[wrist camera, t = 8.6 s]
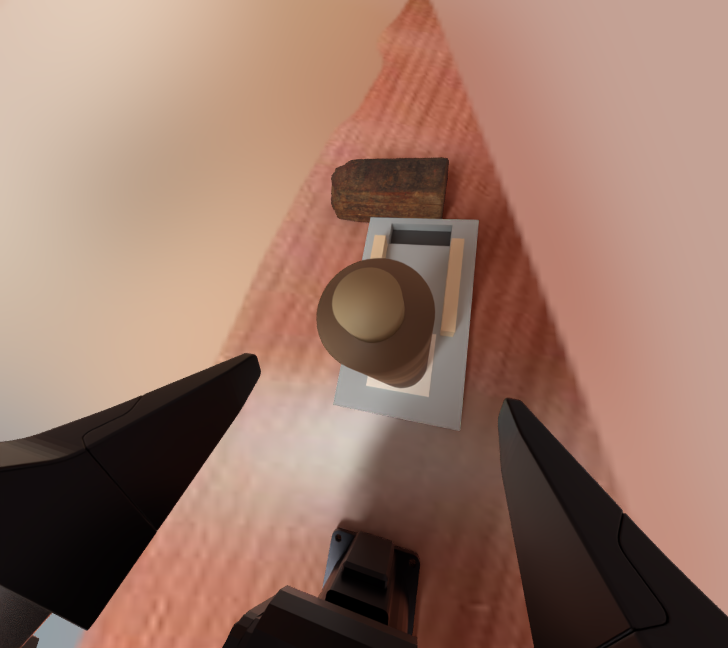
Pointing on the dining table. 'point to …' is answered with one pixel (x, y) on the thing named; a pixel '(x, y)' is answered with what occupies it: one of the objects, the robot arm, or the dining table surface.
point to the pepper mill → (378, 320)
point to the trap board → (451, 326)
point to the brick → (390, 188)
